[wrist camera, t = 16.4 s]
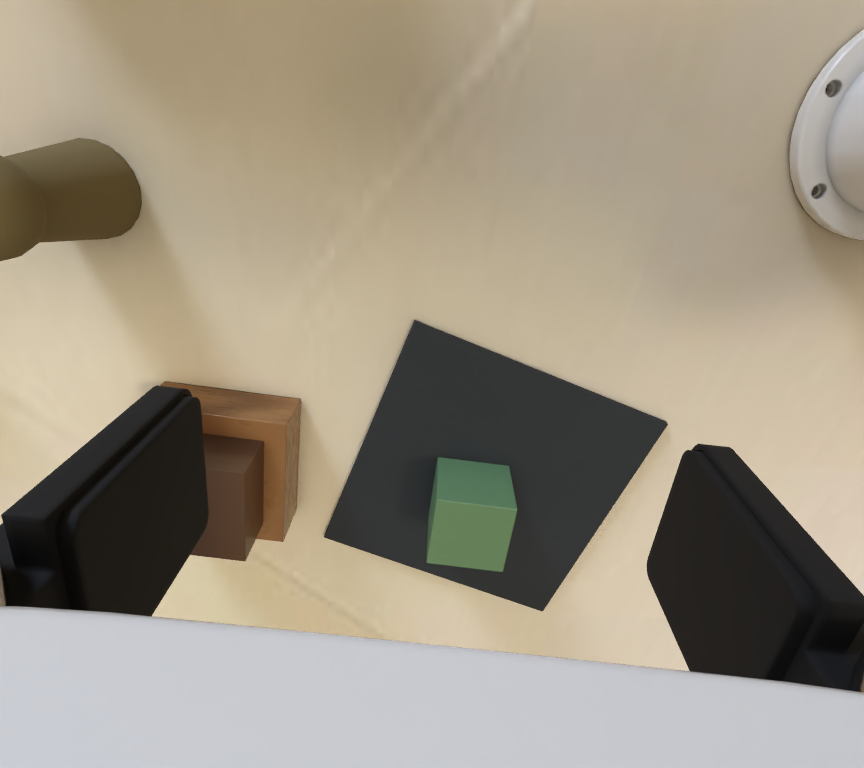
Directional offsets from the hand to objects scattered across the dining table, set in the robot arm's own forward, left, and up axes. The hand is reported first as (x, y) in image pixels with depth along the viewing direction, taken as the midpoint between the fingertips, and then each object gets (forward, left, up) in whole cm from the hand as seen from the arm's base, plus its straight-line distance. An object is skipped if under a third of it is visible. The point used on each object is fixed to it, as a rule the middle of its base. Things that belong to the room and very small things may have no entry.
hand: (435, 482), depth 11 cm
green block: (-9, +17, -27) cm, 33 cm away
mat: (-10, +16, -28) cm, 33 cm away
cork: (+22, +6, -28) cm, 36 cm away
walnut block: (+9, +21, -24) cm, 33 cm away
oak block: (+9, +21, -28) cm, 36 cm away
